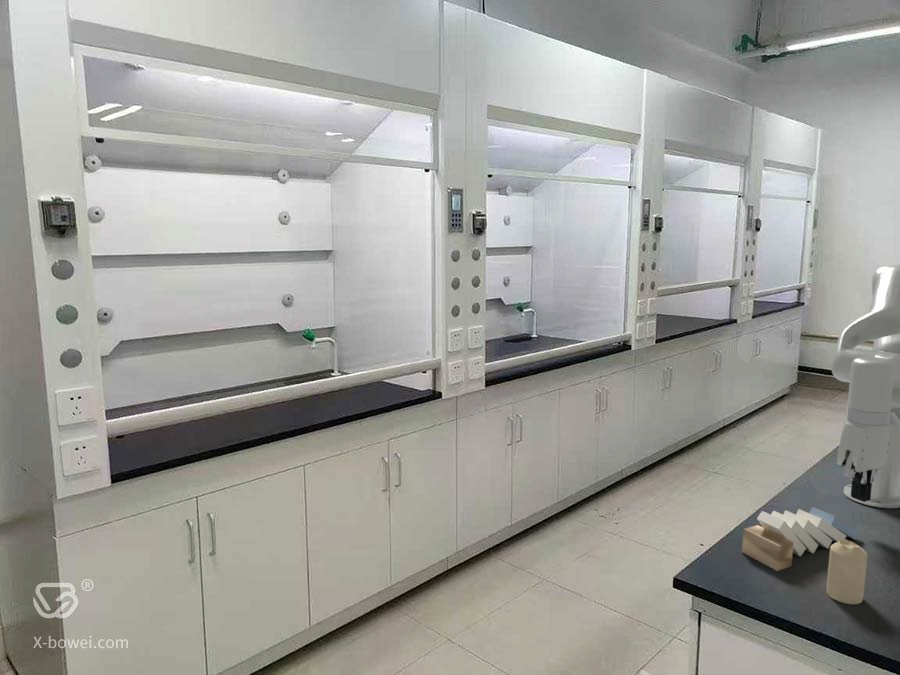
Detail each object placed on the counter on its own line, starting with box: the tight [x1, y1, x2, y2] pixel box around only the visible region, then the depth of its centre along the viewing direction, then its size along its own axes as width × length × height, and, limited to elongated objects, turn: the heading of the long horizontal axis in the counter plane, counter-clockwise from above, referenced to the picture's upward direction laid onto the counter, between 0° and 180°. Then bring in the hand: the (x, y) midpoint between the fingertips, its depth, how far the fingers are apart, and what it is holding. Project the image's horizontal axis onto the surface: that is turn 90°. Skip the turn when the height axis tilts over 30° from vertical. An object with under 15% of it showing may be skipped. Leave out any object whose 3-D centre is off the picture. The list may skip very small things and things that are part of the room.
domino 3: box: [783, 509, 833, 550], centre depth 129 cm, size 2×5×10 cm
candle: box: [826, 538, 869, 605], centre depth 111 cm, size 6×6×10 cm
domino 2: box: [770, 510, 819, 554], centre depth 127 cm, size 2×5×10 cm
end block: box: [741, 524, 794, 571], centre depth 124 cm, size 4×8×5 cm, turn 25°
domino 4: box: [796, 508, 847, 543], centre depth 130 cm, size 2×5×10 cm
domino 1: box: [756, 510, 806, 557], centre depth 125 cm, size 2×5×10 cm
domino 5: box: [808, 506, 861, 541], centre depth 132 cm, size 2×5×10 cm
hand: (860, 498), depth 135 cm, fingers closed
